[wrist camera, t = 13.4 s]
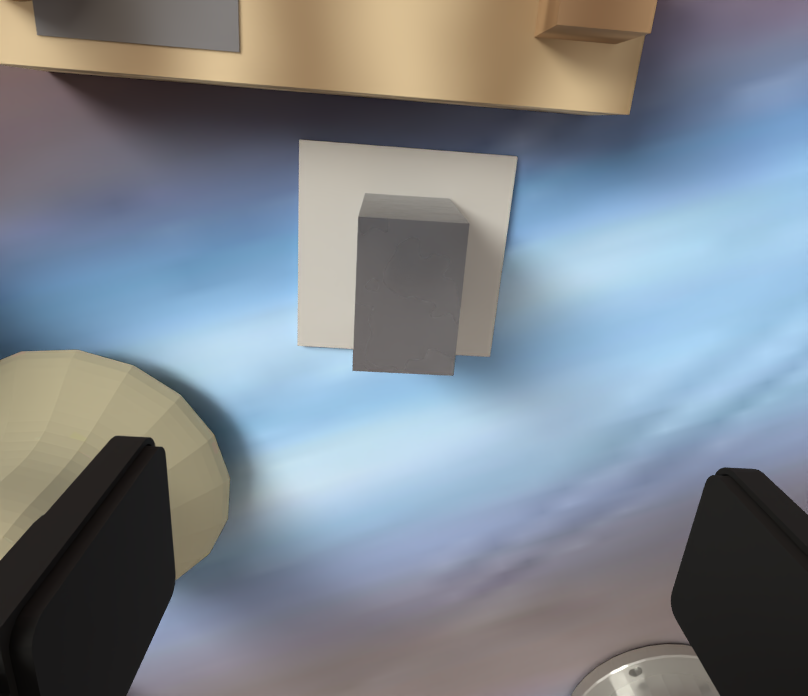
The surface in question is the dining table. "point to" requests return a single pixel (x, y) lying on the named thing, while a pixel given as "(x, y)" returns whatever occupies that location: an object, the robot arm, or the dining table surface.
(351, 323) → the mat
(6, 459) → the handbell
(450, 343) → the tall grey box
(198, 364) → the dining table surface
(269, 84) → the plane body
